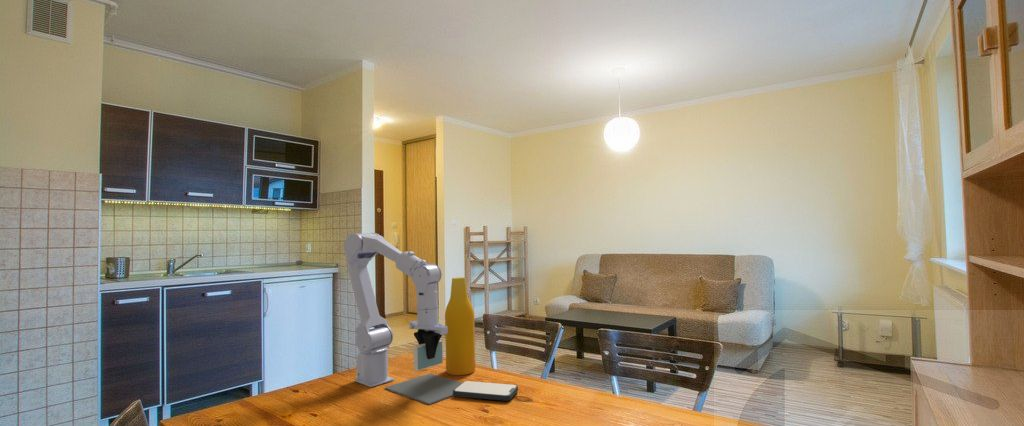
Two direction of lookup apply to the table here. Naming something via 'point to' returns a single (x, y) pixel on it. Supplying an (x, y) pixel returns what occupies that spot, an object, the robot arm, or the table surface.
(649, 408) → the table surface
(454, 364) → the beer bottle
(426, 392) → the mat
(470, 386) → the phone case
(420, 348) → the card deck
